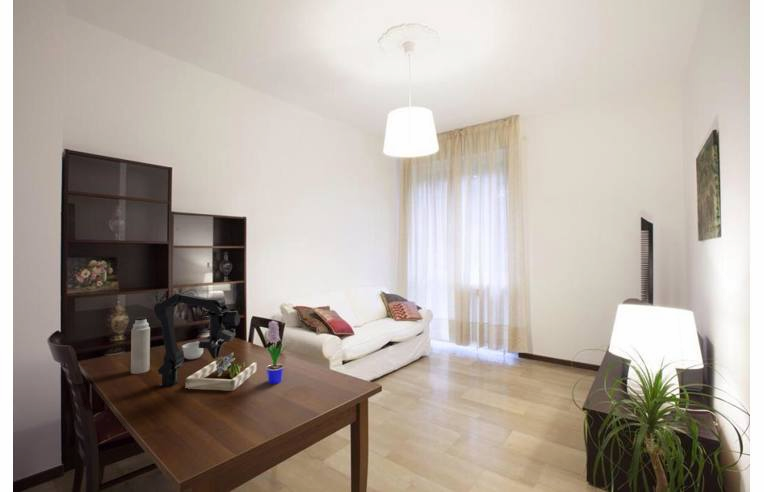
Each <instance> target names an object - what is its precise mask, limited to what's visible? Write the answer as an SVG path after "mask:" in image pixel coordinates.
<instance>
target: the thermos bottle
mask: <svg viewBox="0 0 764 492" xmlns="http://www.w3.org/2000/svg"><path fill="white" fill-rule="evenodd" d="M134 321H135V322H134V323H133V325H132V328H131V333H130V337H131V338H130V345H131V346H130V349H131V350H130V373H131V374H134V375H135V374H136V375H138V374H143V373H147V372H148V371H150V365H151V364H150V363H151V362H150V358H151V357H150V356H151V355H150V354H151V351H150V349H151V348H150V347H151V327H150V326H149V325H150V324H149V322H148V321H147V316H139V317H135V320H134Z"/></svg>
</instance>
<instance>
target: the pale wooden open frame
mask: <svg viewBox="0 0 764 492" xmlns="http://www.w3.org/2000/svg"><path fill="white" fill-rule="evenodd" d="M216 361H217V360H214V361H212V362H211V363H208V364H207V365H206V366H203V367H202V368H201V369H199V370H197V371H196V372H194V373H192V374H191V375H189V376H187V377H186V378H185V383H184V384H185V385H184V386H185V387H184V389H186V388H188V389H190V390H191V389H192V390H211V391H212V390H213V391H233V392H235V390H236V389H237V388H238V387H240V386H241V385H242V384H243V383H245V382H246V381H247V379H249V378H250V377H251V376H252V375H253V374H254V373H256V372H257V367H258V365H257V364H258V363H257V362H255V361H254V362H252V363H251V364H250V365H249V366H247V367H246V368H244V370H241V371H240V373H239V374H238V375H236V376H234V378H231V379H230V378H229V379H228V378H209V377H208V376H210V375H211V374H212V373H215V372H217V368H216V367H217V365H218V363H217V364H216ZM206 377H207V378H206Z"/></svg>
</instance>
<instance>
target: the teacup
mask: <svg viewBox="0 0 764 492" xmlns="http://www.w3.org/2000/svg"><path fill="white" fill-rule="evenodd" d="M200 342H201V341H197V340H196V341H194V342H189V343H186V344H183V345H182V346H181V348H182V350H183V351H184V357H185V358H184V359H187V360H196V359H198V358H200V357H201V356H202V355H203V353H204V348H199V343H200Z"/></svg>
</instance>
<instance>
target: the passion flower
mask: <svg viewBox="0 0 764 492" xmlns="http://www.w3.org/2000/svg"><path fill="white" fill-rule="evenodd" d="M234 354H235V353H234V352H231V353H230V354H226V355H225V356H219V357H218V358H217V360H215V361H216V364H217V367H216V368H217V370H216V372H217V373H218V374H217V377H218V378H219V377H221V376H223V375H224V373H225V372H227V371H228V372H229V377H230V378H231V379H233V378H235V374H236V376H237V375H238V374H240V373H241V369H242V368H245V366H246V365H245V361H243V362H241V363H235V360H236V358H235V357H233V356H234ZM242 366H243V367H242Z"/></svg>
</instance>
